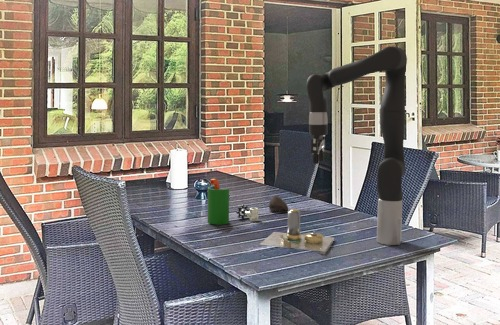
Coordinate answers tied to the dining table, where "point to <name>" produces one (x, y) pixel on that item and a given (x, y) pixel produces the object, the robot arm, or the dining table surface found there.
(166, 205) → the dining table surface
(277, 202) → the stone
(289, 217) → the silver and brass cylinder
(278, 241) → the carrier
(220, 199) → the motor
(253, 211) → the valve
